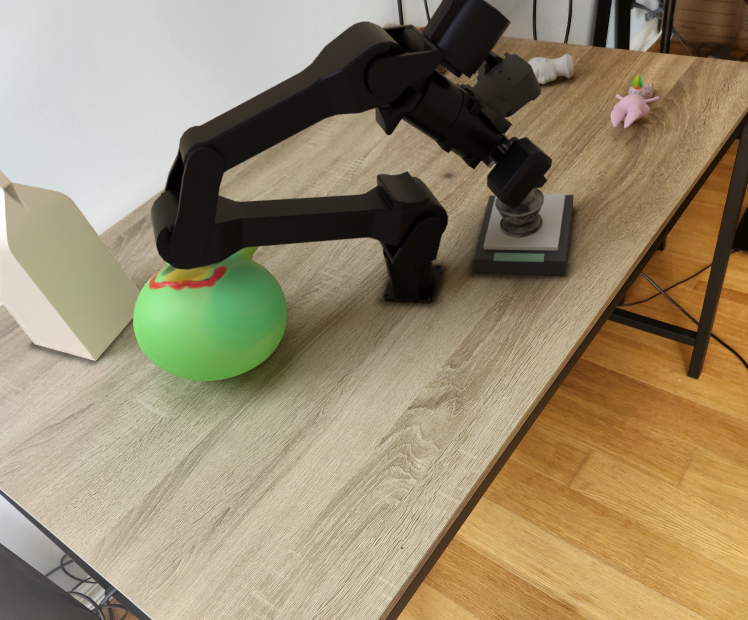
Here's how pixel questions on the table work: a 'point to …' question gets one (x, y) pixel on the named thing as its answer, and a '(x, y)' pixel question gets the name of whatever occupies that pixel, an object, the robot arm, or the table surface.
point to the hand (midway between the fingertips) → (533, 173)
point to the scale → (526, 241)
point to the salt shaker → (522, 215)
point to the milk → (59, 273)
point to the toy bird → (211, 318)
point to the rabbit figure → (633, 103)
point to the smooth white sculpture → (552, 68)
